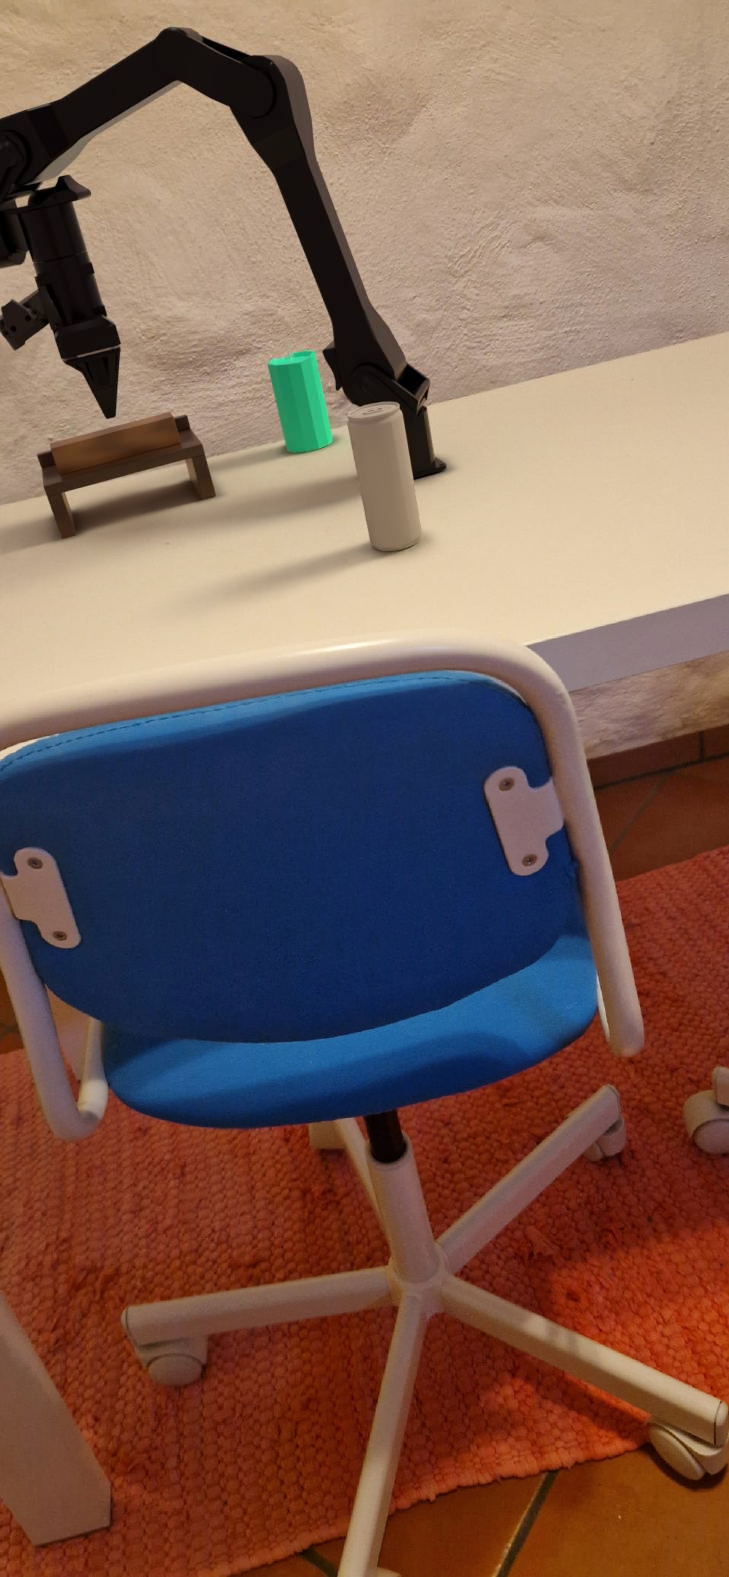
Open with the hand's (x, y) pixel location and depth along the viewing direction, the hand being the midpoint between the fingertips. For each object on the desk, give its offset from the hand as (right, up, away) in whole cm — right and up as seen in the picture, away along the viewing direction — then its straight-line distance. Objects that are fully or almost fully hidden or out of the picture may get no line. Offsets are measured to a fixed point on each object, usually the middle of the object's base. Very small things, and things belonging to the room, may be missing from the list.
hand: (107, 410), depth 118 cm
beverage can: (+32, -20, -21) cm, 43 cm away
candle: (+22, +1, +15) cm, 26 cm away
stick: (+1, -4, +3) cm, 5 cm away
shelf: (+2, -9, +6) cm, 11 cm away
